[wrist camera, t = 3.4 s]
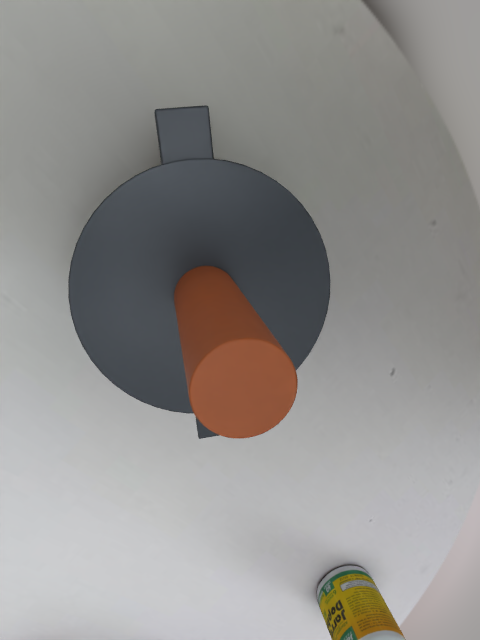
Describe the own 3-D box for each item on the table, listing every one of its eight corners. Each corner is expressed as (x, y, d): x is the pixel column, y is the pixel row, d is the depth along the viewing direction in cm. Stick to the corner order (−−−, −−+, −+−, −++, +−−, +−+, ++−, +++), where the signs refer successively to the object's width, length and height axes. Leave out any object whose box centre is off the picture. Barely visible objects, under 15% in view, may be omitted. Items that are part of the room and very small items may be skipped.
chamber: (266, 117, 28) (310, 95, 20) (282, 365, 34) (322, 424, 26) (76, 132, 27) (44, 115, 19) (125, 389, 32) (115, 461, 24)
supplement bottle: (365, 607, 43) (422, 722, 34) (311, 612, 42) (354, 732, 33) (376, 560, 41) (437, 668, 32) (319, 564, 40) (367, 677, 31)
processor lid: (318, 147, 22) (470, 124, 11) (325, 383, 26) (443, 528, 15) (46, 172, 20) (-72, 171, 10) (99, 420, 24) (56, 612, 14)
